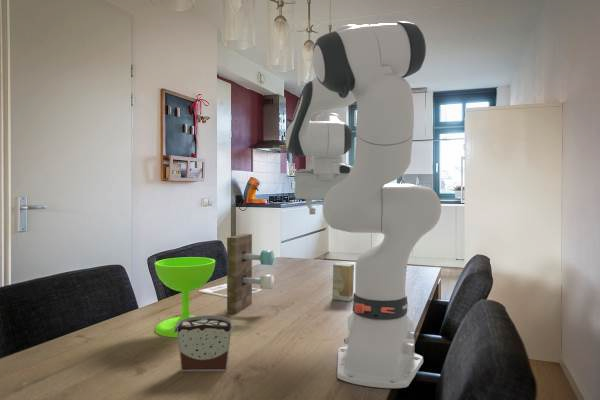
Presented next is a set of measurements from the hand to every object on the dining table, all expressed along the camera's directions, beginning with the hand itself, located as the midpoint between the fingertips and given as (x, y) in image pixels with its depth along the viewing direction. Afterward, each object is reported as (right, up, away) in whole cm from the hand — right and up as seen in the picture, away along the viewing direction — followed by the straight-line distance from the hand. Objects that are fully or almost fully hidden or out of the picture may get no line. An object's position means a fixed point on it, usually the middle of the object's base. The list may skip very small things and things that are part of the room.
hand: (327, 214), depth 131 cm
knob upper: (-23, -16, +5) cm, 28 cm away
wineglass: (-39, -31, -13) cm, 51 cm away
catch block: (-27, -30, +7) cm, 41 cm away
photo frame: (-34, -30, +30) cm, 54 cm away
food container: (-28, -31, -38) cm, 57 cm away
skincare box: (+7, -30, +18) cm, 36 cm away
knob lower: (-23, -23, +5) cm, 33 cm away
